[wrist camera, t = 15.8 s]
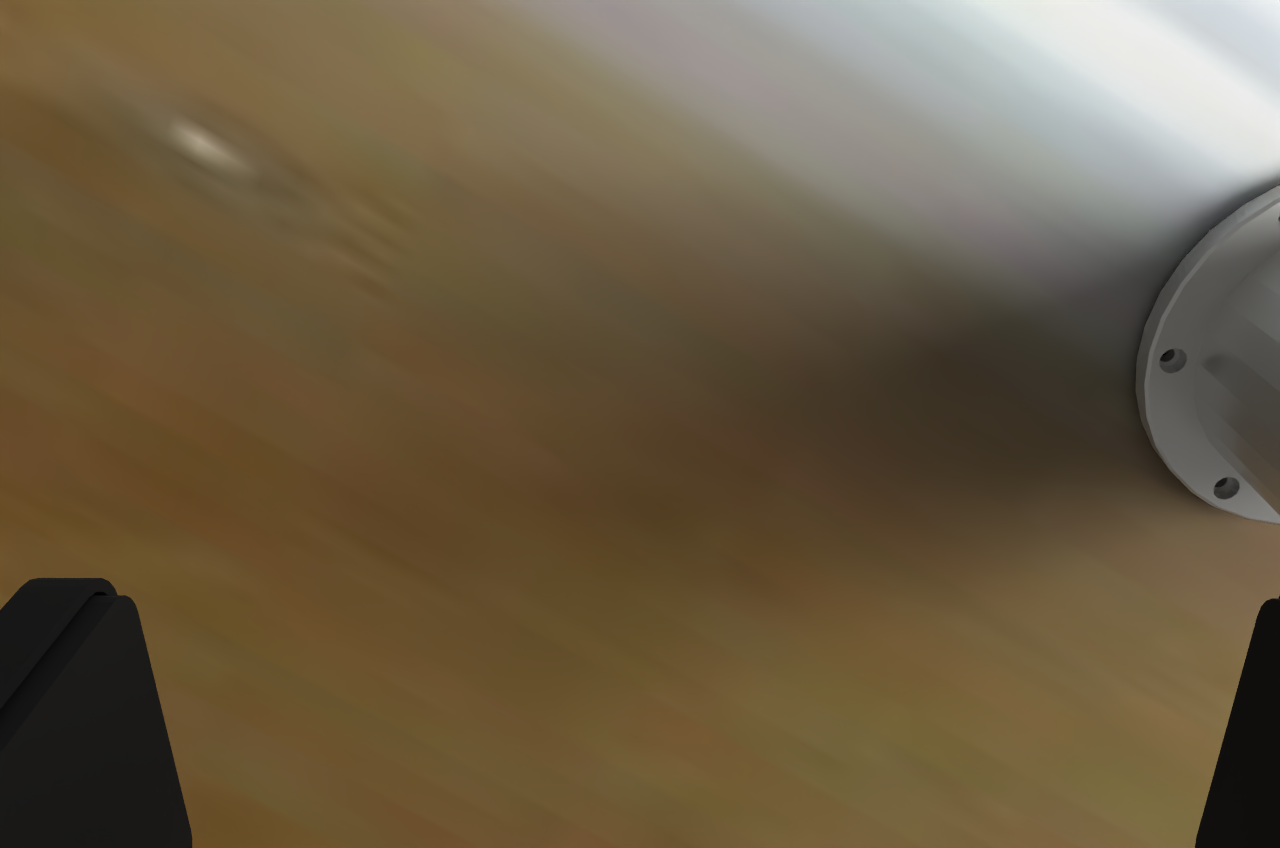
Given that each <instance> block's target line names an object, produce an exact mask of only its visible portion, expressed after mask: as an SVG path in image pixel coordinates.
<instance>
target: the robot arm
mask: <svg viewBox="0 0 1280 848" xmlns="http://www.w3.org/2000/svg"><path fill="white" fill-rule="evenodd" d="M1279 216H1280V185H1278V186H1276V187H1275V188H1273V189H1271V190H1269V191H1267V192H1266V193H1264V194H1262V195H1260V196H1258V197H1257V198H1255V199H1253V200H1251V201H1249V202H1247V203H1246V204H1244V205H1242V206H1241V207H1240V208H1239V209H1237V210H1236V211H1235V212H1233V213H1232V214H1231V215H1230V216H1228V217H1227V218H1226V219H1224V220H1223V221H1222V222H1220V223H1219V224H1218V225H1217V226H1215V227H1214V228H1213V229H1211V230H1210V231H1209V232H1208V233H1207V234H1206V235H1205V236H1204V238H1203V239H1202V240H1201V241H1200V242H1199V243H1198V244H1197V245H1196V246H1195V247H1194V248H1193V249H1192V250H1191V251H1190V252H1189V253H1188V254H1187V255H1186V256H1185V258H1184V259H1183V260H1182V261H1181V262H1180V264H1179V265H1178V267H1177V268H1176V270H1175V271H1174V273H1173V274H1172V276H1171V277H1170V279H1169V280H1168V281H1167V283H1166V284H1165V286H1164V287H1163V289H1162V290H1161V292H1160V294H1159V296H1158V298H1157V300H1156V303H1155V305H1154V307H1153V309H1152V311H1151V313H1150V316H1149V318H1148V320H1147V322H1146V324H1145V328H1144V332H1143V336H1142V340H1141V344H1140V348H1139V352H1138V356H1137V365H1136V390H1135V391H1136V397H1137V402H1138V408H1139V413H1140V418H1141V422H1142V424H1143V427H1144V429H1145V431H1146V433H1147V436H1148V438H1149V440H1150V443H1151V445H1152V447H1153V449H1154V450H1155V451H1156V453H1157V454H1158V455H1159V457H1160V458H1161V459H1162V460H1163V462H1164V463H1165V464H1166V466H1167V467H1168V468H1169V470H1170V471H1171V472H1172V473H1173V474H1174V475H1175V476H1176V477H1177V478H1178V479H1179V480H1180V481H1181V482H1182V483H1183V484H1184V485H1185V486H1186V487H1187V488H1188V489H1189V490H1190V491H1191V492H1192V493H1194V494H1195V495H1196V496H1198V497H1199V498H1201V499H1202V500H1204V501H1205V502H1207V503H1208V504H1210V505H1212V506H1214V507H1215V508H1218V509H1220V510H1223V511H1226V512H1228V513H1231V514H1234V515H1236V516H1239V517H1242V518H1244V519H1249V520H1255V521H1260V522H1266V523H1272V524H1278V525H1280V217H1279ZM1168 350H1169V351H1168ZM1166 351H1168V353H1167V354H1166V355H1164V356H1162V355H1163V354H1164V353H1165V352H1166ZM1161 356H1162V357H1161ZM0 848H192V834H191V828H190V824H189V820H188V816H187V812H186V808H185V804H184V800H183V795H182V791H181V787H180V783H179V779H178V775H177V771H176V767H175V762H174V758H173V754H172V750H171V746H170V742H169V738H168V734H167V729H166V725H165V721H164V717H163V713H162V709H161V705H160V701H159V697H158V692H157V688H156V684H155V680H154V676H153V672H152V668H151V664H150V659H149V655H148V651H147V647H146V643H145V639H144V635H143V631H142V626H141V622H140V618H139V614H138V611H137V608H136V605H135V603H134V602H133V600H132V599H131V598H130V597H127V596H118V595H117V593H116V590H115V588H114V587H113V586H112V584H111V583H110V582H109V581H107V580H105V579H103V578H37V579H32V580H29V581H28V582H27V583H25V584H24V585H23V586H22V587H21V588H20V589H19V590H18V591H17V592H16V593H15V594H14V595H13V597H12V598H11V599H10V600H9V601H8V602H7V603H6V604H5V605H4V607H3V608H2V609H1V610H0ZM1195 848H1280V596H1279V598H1278V599H1270V600H1267V601H1266V602H1265V603H1264V604H1263V605H1262V606H1261V608H1260V611H1259V613H1258V616H1257V619H1256V623H1255V627H1254V630H1253V634H1252V637H1251V641H1250V645H1249V648H1248V652H1247V656H1246V659H1245V663H1244V667H1243V670H1242V674H1241V677H1240V681H1239V685H1238V688H1237V692H1236V696H1235V699H1234V703H1233V707H1232V710H1231V714H1230V717H1229V721H1228V725H1227V728H1226V732H1225V736H1224V739H1223V743H1222V747H1221V750H1220V754H1219V757H1218V761H1217V765H1216V768H1215V772H1214V776H1213V779H1212V783H1211V787H1210V790H1209V794H1208V797H1207V801H1206V805H1205V808H1204V812H1203V816H1202V819H1201V823H1200V826H1199V830H1198V834H1197V838H1196V844H1195Z"/></svg>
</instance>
